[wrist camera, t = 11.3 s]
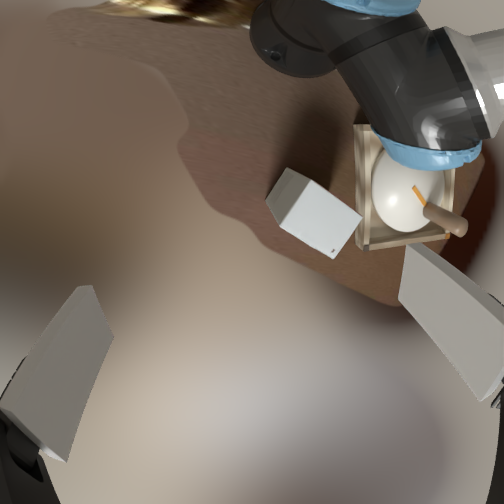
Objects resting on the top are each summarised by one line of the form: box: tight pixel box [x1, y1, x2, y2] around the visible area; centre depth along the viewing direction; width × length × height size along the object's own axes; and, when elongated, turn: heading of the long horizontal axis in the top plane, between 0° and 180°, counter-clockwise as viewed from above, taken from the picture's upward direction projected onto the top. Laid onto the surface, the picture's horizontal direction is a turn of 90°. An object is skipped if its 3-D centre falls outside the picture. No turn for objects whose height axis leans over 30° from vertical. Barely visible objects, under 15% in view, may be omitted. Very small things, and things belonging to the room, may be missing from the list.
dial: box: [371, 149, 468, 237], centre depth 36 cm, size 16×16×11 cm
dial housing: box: [353, 124, 455, 252], centre depth 40 cm, size 20×20×4 cm
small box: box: [265, 167, 363, 259], centre depth 35 cm, size 8×6×13 cm
